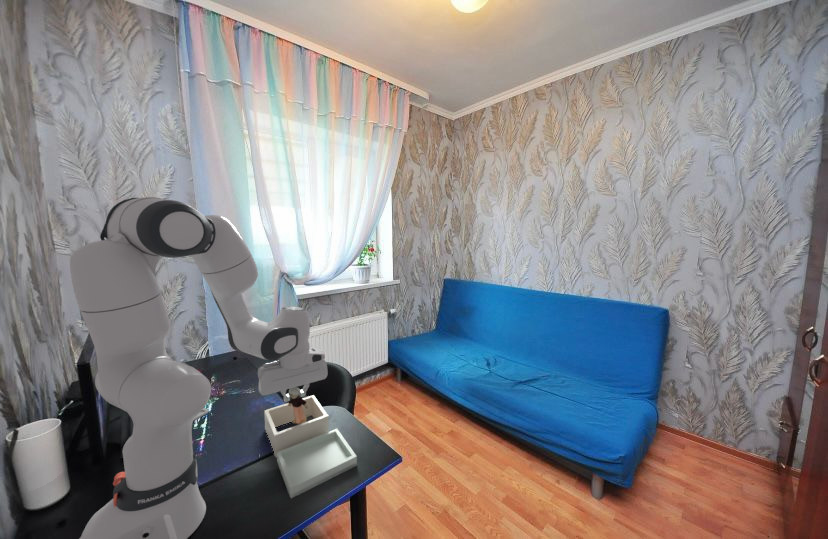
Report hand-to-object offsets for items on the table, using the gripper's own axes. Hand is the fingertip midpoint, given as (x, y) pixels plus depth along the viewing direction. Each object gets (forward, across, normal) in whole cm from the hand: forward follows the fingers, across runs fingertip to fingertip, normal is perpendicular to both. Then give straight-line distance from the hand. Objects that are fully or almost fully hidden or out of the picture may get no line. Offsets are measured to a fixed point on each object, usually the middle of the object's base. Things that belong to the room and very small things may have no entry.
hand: (294, 398), depth 95 cm
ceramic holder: (+12, 0, 0) cm, 12 cm away
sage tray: (+12, +2, -16) cm, 20 cm away
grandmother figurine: (+9, +2, 0) cm, 9 cm away
